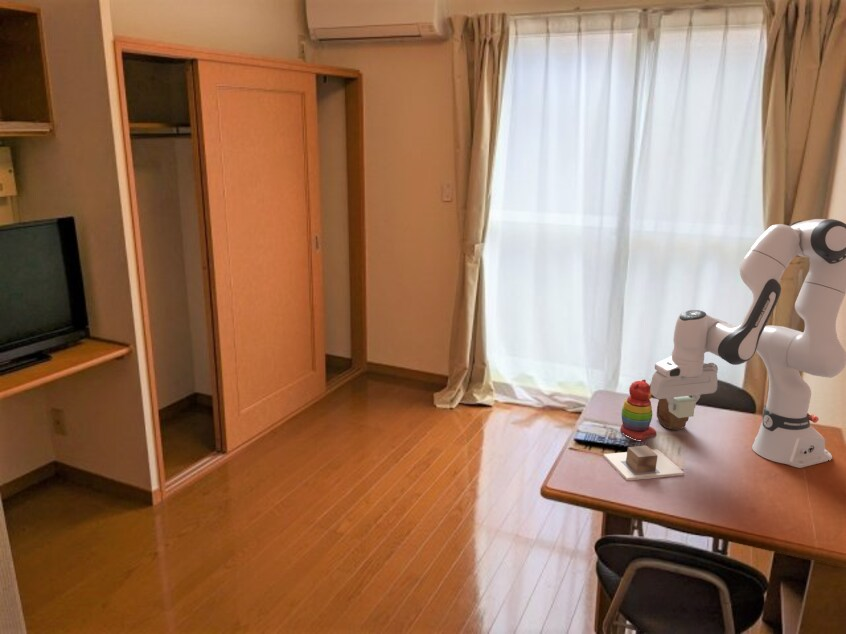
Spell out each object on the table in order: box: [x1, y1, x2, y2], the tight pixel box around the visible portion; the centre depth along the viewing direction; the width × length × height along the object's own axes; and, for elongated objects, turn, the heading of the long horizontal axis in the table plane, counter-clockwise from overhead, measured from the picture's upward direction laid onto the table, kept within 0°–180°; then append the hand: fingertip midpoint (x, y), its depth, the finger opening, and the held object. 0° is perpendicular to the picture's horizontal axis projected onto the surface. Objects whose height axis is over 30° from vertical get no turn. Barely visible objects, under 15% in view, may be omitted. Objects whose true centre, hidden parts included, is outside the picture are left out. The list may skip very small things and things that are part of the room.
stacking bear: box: [619, 379, 657, 442], centre depth 213 cm, size 11×10×18 cm
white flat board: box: [602, 449, 685, 482], centre depth 195 cm, size 18×14×1 cm
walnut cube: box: [626, 445, 658, 473], centre depth 192 cm, size 6×6×5 cm
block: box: [656, 395, 693, 431], centre depth 220 cm, size 11×8×20 cm
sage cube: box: [669, 396, 696, 418], centre depth 198 cm, size 5×5×5 cm
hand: (681, 408), depth 198 cm, fingers closed on sage cube, 5 cm apart
